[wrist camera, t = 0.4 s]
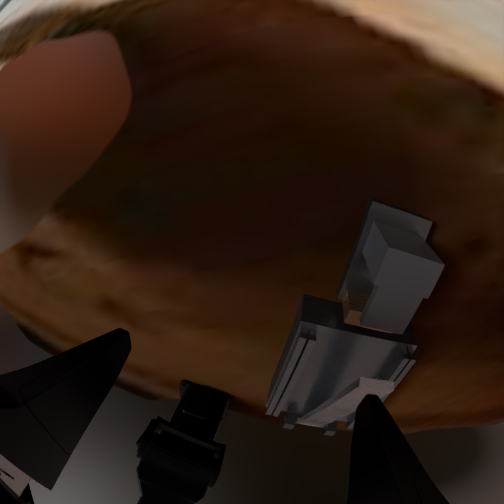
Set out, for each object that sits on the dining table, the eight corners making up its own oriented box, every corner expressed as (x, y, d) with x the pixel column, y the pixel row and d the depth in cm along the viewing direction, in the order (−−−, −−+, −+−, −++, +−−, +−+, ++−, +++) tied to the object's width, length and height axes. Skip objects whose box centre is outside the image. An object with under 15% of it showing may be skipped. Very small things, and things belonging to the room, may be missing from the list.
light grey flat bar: (323, 421, 23) (322, 426, 23) (301, 417, 24) (299, 422, 23) (394, 381, 14) (393, 390, 13) (360, 376, 14) (359, 386, 13)
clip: (393, 298, 20) (406, 335, 16) (348, 286, 20) (354, 324, 16) (421, 236, 17) (444, 264, 13) (373, 220, 18) (388, 247, 14)
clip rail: (389, 305, 21) (392, 312, 20) (336, 291, 22) (337, 298, 21) (427, 217, 17) (432, 222, 16) (369, 197, 18) (372, 201, 17)
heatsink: (351, 402, 27) (351, 438, 23) (269, 386, 28) (260, 422, 24) (418, 301, 20) (435, 339, 16) (310, 273, 21) (308, 311, 17)
